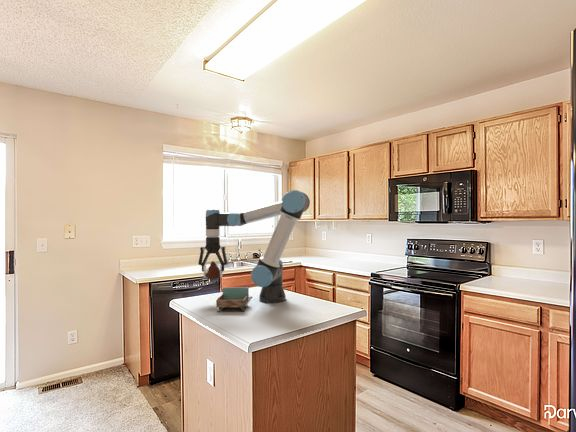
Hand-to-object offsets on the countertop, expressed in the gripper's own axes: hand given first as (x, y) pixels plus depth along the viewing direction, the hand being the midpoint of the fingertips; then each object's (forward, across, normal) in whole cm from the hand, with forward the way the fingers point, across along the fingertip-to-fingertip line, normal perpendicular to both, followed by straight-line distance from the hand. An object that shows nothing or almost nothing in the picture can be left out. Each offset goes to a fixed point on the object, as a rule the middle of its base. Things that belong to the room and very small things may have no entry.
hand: (213, 277), depth 185 cm
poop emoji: (+1, 0, 0) cm, 1 cm away
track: (+14, -14, +4) cm, 20 cm away
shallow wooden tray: (+14, -14, +13) cm, 23 cm away
